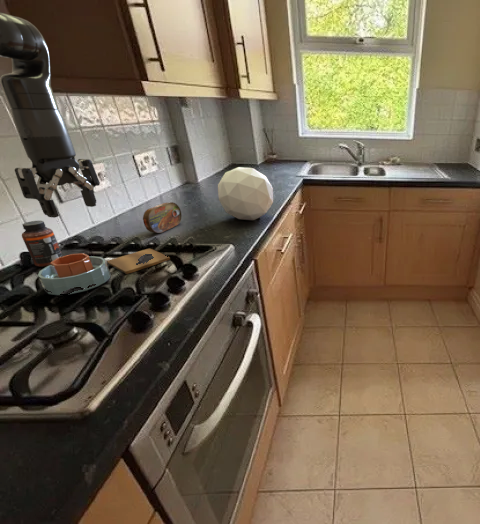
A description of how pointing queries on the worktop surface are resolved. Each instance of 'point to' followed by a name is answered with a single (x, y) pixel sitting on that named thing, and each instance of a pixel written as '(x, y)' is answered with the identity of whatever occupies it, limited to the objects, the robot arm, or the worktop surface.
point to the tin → (162, 217)
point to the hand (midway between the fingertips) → (73, 211)
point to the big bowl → (75, 278)
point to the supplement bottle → (40, 243)
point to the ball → (245, 193)
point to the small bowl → (71, 265)
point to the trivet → (129, 261)
